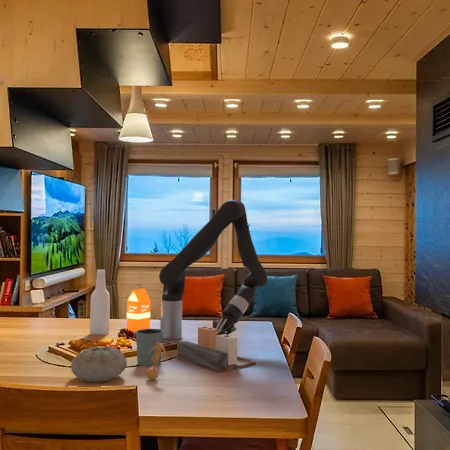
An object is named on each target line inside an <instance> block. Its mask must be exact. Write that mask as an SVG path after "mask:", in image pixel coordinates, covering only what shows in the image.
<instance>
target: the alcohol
mask: <svg viewBox="0 0 450 450" xmlns="http://www.w3.org/2000/svg"><path fill="white" fill-rule="evenodd" d="M89 309H90V311H89V312H90V319H89V334H90V335H92V336H106V335H108V334H109V332H110V317H111V315H110V313H111V312H110V311H111V310H110V309H111V296H110V292H109V291H108V290H107V287H106V269H97V270H96V279H95V288H94V290H93V291H92V293H91V295H90V308H89Z"/></svg>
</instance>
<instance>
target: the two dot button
mask: <svg viewBox="0 0 450 450" xmlns="http://www.w3.org/2000/svg"><path fill="white" fill-rule="evenodd" d="M216 335H217V329H215V328H212V327H210V326H199V327H198V328H197V344H199V345H202V346H205V347H208V348H212V349H215V350H216Z"/></svg>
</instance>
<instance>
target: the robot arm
mask: <svg viewBox="0 0 450 450" xmlns="http://www.w3.org/2000/svg"><path fill="white" fill-rule="evenodd" d="M231 224H232V225H233V228H234V230H235V234H236V242H237V250H238V253H239V254H238V255H239V257H240V260H241V263H242V265H243V267H244V268H247V269H248V271H249V273H248V274H247V275H246V276H245V277H244V278H243V281H242V283H241V285H240V288H239V289H238V290H237V292H236V294H234V296H233V297H232V298H231V299H230V300H229V302H228V303H227V305H226V306H225V308H224V309H223V311H222V316H220V317H219V318H218V320H215V319H214V320H213V321H212V327H211V328H215V329H217V335H223V334H226V335H230V334H232V333H233V332H235V331H237V327H236V326H235V325H236V324H237V323H238V322H239V321H240V319H242V317H243V315H244V314H245V312H246V311H247V309H248V308H249V305H250V304H251V303H252V301H253V299H254V298H255V291H256V289H258V288H262V287H265V286H266V284H267V283H268V275H267V273H266V270H265V268H264V266H263V265H262V263H261V262H260V260H259V257H258V253H257V251H256V248H255V246H254V242H253V240H252V235H251V231H250V227H249V224H248V217H247V210H246V207H245V204H244V203H243V202H242V201H240V200H238V199H228V200H226V201H224V203H222V204H221V206H220V207H219V208H218V210H217V211H216V212H215V214H214V215H213V217H212V218H210V220H209V221H208V222H207V223H206V224H204V225H203V227H202V228H201V229H200V230H199V231H198V232H197V233H196V234H195V235H194V236H193V237H192V238H191V239H190V240H189V241H188V242H187V244H186V245H184V247H183V248H182V249H181V250H180V251H179V252H178V253H177V255H176V256H175V257H174V258H172V259H171V260H170V261H169V262H168V263H167V264H166V265H165V266H163V267H162V269H161V270H160V272H159V281H160V283H161V284H162V285H164V286H166V289H165V291H164V292H163V293H162V295H161V304H162V317H161V316H160V319H159V320H160V321H159V323H160V324H159V325H160V326H159V328H160V330H163V340H170V341H171V340H180V339H181V338H182V335H183V331H182V330H183V329H182V328H183V296H184V293H185V284H186V273H185V271H186V269H187V268H189V266H191V265H193V264H195V263H196V262H197V261H199V260H200V259H202V258H203V257H204V256H205V255H207V253H208V252H209V251H210V250H212V248H213V247H214V246H215V244H216V243H217V241H218V239H219V237H220V235H221V234H222V232H223V231H225V230H226V228H227V227H229V226H230V225H231Z"/></svg>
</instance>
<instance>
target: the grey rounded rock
mask: <svg viewBox="0 0 450 450" xmlns="http://www.w3.org/2000/svg"><path fill="white" fill-rule="evenodd" d="M127 361H128V360H127V358H126V356H125V355H124V353H123V352H122V350H121V349H119V348H116V346H115V347H112V346H93V347H89V348H86V349H84V350H82V351H81V352H79V353H78V354H76V355H75V357H74V358H73V359H72V360H71V365H70V369H71V372H72V374H74V376H75V377H76V378H78V379H79V380H81V381H83V382H87V383H95V382H100V383H101V382H106V381H110V380H113V379H115V378H117V377H118V376H120V375H121V374H122V373H123V372H124V371H125V370H126V368H127V367H128V362H127Z"/></svg>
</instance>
